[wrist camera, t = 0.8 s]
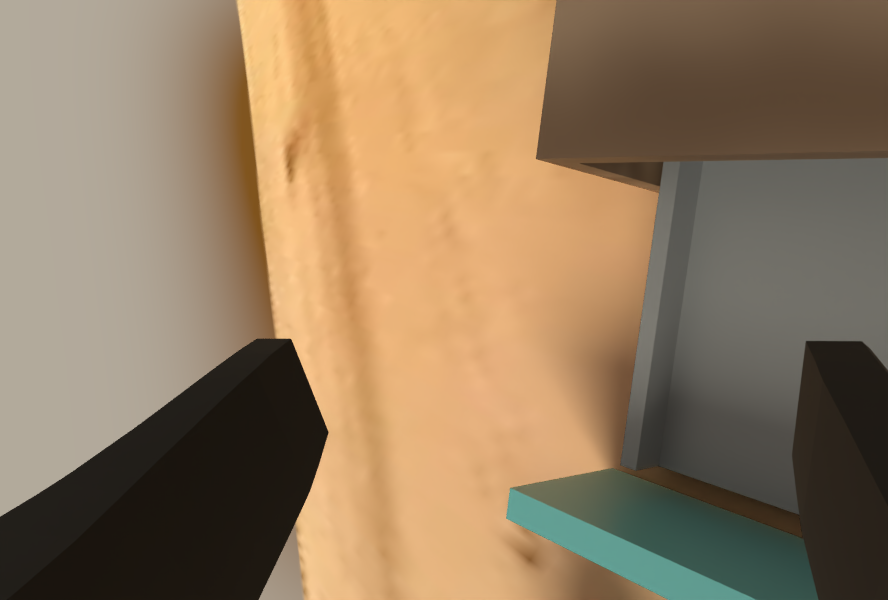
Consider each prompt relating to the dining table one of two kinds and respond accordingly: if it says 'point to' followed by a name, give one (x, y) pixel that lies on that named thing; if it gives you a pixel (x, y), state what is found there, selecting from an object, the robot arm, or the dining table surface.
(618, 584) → the dining table surface
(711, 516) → the drawer
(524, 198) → the dining table surface
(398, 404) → the dining table surface
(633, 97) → the spice box
